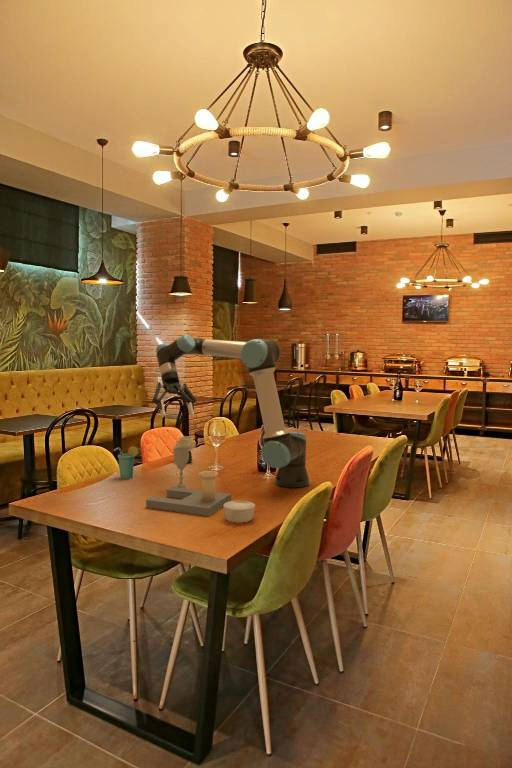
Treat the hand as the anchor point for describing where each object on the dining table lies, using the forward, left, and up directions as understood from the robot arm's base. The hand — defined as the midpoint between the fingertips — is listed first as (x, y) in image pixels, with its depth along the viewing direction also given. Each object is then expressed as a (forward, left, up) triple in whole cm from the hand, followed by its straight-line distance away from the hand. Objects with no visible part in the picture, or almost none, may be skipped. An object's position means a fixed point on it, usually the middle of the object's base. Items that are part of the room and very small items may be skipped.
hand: (178, 416), depth 238 cm
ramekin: (-43, +33, -30) cm, 62 cm away
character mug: (+16, -37, -30) cm, 51 cm away
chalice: (-6, +8, -30) cm, 31 cm away
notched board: (-19, +25, -30) cm, 43 cm away
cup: (+26, +2, -30) cm, 40 cm away
